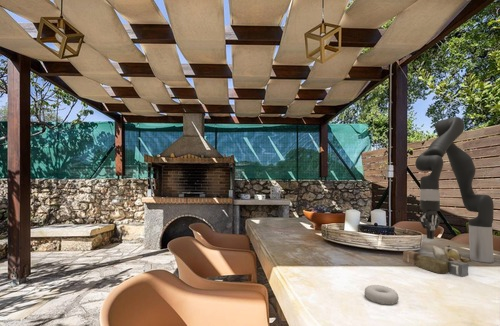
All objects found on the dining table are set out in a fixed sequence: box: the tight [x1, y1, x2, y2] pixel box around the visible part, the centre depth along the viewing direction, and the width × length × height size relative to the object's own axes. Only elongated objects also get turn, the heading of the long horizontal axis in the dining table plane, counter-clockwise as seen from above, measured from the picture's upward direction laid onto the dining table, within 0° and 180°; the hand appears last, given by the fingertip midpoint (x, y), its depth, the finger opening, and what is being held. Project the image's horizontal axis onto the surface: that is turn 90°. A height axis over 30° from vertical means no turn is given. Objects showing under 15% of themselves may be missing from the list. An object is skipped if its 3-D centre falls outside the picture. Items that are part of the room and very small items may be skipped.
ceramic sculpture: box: [431, 244, 473, 263], centre depth 133 cm, size 11×9×15 cm
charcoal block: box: [448, 260, 469, 278], centre depth 116 cm, size 5×5×5 cm
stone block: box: [415, 255, 449, 275], centre depth 122 cm, size 6×12×5 cm, turn 18°
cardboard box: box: [402, 250, 421, 265], centre depth 133 cm, size 5×5×5 cm
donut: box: [364, 284, 400, 305], centre depth 89 cm, size 10×4×10 cm
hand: (430, 238), depth 123 cm, fingers closed
